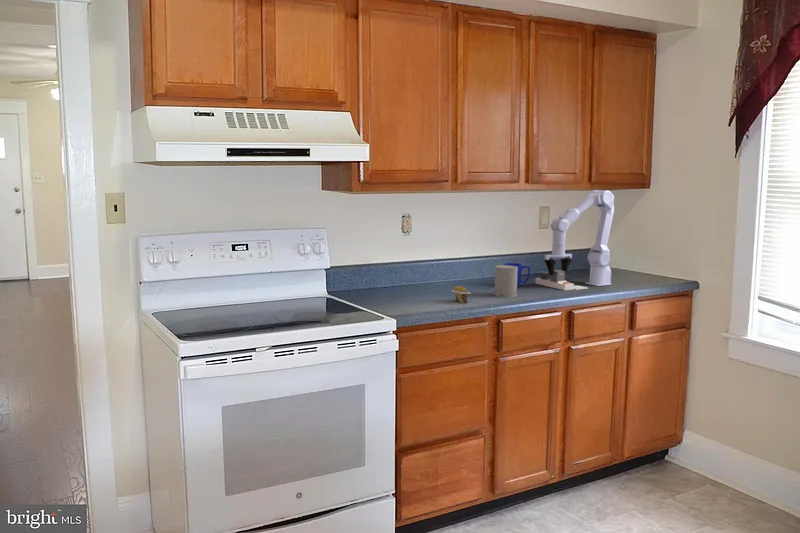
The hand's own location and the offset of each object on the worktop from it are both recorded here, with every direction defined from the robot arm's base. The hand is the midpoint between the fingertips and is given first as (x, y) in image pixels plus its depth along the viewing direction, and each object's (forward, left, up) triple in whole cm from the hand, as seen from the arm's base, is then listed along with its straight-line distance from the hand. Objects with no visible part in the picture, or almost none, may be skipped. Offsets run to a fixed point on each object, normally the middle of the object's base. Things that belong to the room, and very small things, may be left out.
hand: (557, 274), depth 311 cm
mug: (+15, -11, -6) cm, 19 cm away
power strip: (0, -2, -6) cm, 6 cm away
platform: (+60, +10, -7) cm, 61 cm away
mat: (-7, +6, -6) cm, 11 cm away
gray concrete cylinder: (+34, +6, -6) cm, 35 cm away
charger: (0, 0, -3) cm, 3 cm away
